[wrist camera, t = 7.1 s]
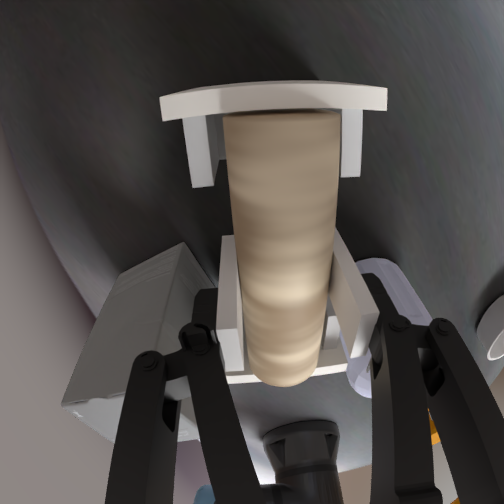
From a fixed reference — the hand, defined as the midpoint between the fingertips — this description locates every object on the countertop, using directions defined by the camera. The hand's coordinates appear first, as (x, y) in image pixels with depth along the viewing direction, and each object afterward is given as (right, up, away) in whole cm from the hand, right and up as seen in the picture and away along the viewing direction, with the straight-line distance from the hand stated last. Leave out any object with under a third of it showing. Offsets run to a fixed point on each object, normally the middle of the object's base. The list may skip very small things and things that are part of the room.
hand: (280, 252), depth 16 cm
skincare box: (-10, -2, +12) cm, 16 cm away
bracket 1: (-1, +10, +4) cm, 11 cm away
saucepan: (+38, -6, +17) cm, 42 cm away
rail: (-1, 0, 0) cm, 1 cm away
